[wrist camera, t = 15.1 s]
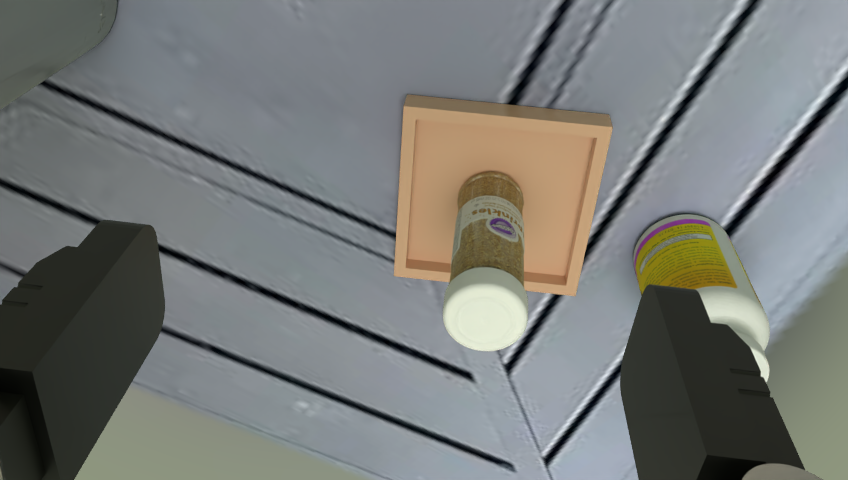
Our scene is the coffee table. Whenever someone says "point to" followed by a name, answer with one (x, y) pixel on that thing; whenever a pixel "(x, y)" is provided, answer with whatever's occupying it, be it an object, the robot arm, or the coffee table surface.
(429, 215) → the square tray
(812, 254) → the coffee table surface
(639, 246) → the supplement bottle
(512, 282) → the sprinkles bottle
